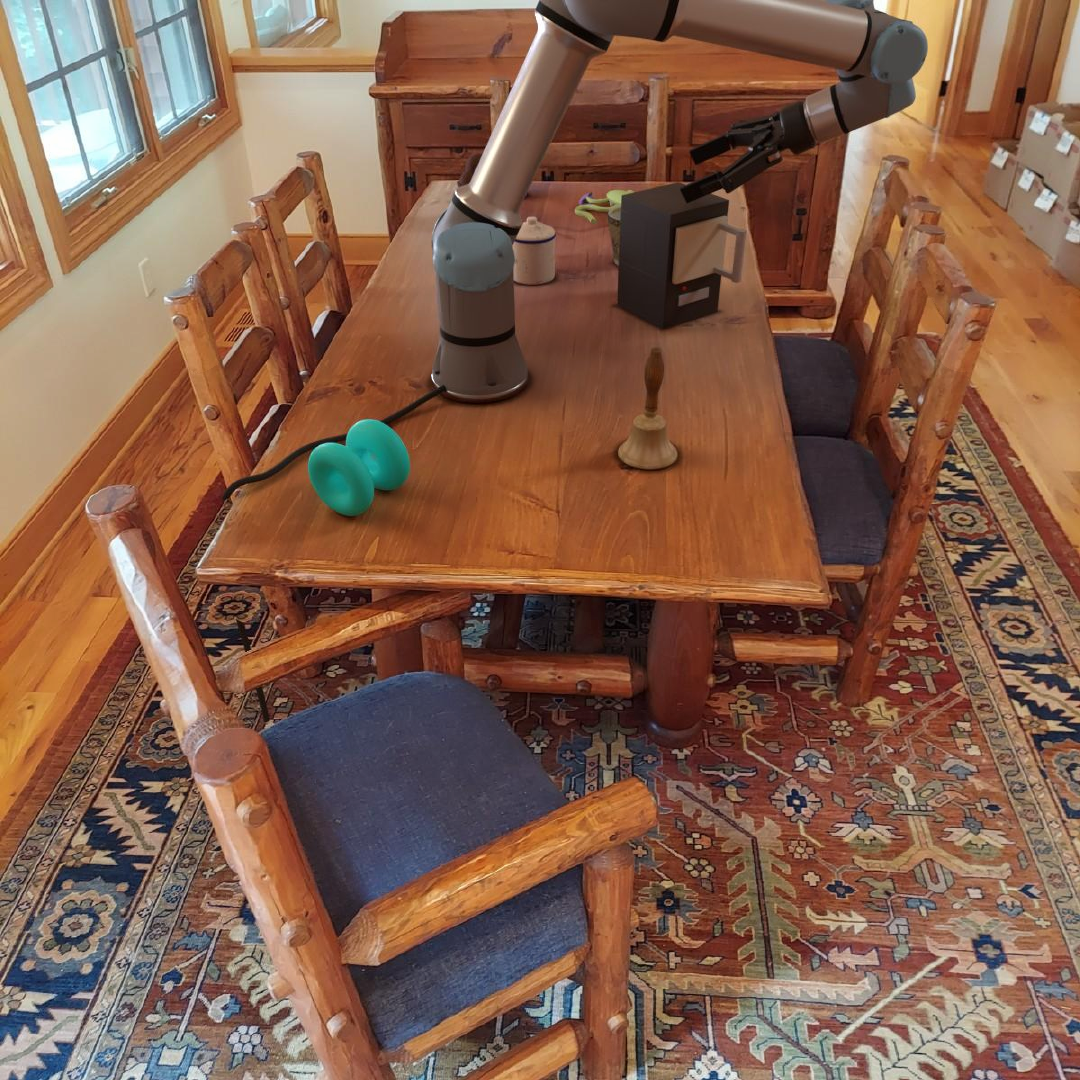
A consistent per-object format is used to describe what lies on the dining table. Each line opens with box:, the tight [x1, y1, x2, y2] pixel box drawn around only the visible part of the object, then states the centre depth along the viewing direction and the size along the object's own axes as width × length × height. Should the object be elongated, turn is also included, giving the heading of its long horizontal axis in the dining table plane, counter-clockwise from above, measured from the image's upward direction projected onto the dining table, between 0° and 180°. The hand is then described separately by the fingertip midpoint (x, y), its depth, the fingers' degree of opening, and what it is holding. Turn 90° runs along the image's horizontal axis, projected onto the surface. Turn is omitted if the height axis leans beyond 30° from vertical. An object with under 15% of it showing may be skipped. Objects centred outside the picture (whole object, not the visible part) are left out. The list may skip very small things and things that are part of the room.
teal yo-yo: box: [307, 418, 411, 517], centre depth 123 cm, size 10×10×10 cm
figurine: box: [574, 189, 635, 225], centre depth 214 cm, size 18×27×6 cm
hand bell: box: [617, 346, 679, 470], centre depth 130 cm, size 8×8×16 cm
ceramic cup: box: [607, 206, 621, 267], centre depth 192 cm, size 13×10×10 cm
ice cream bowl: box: [456, 152, 483, 188], centre depth 209 cm, size 11×11×15 cm
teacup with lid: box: [512, 216, 557, 286], centre depth 185 cm, size 12×9×12 cm
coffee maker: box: [616, 181, 730, 330], centre depth 169 cm, size 14×13×20 cm
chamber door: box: [672, 215, 747, 284], centre depth 161 cm, size 7×11×9 cm, turn 125°
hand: (687, 176), depth 162 cm, fingers open, 13 cm apart
